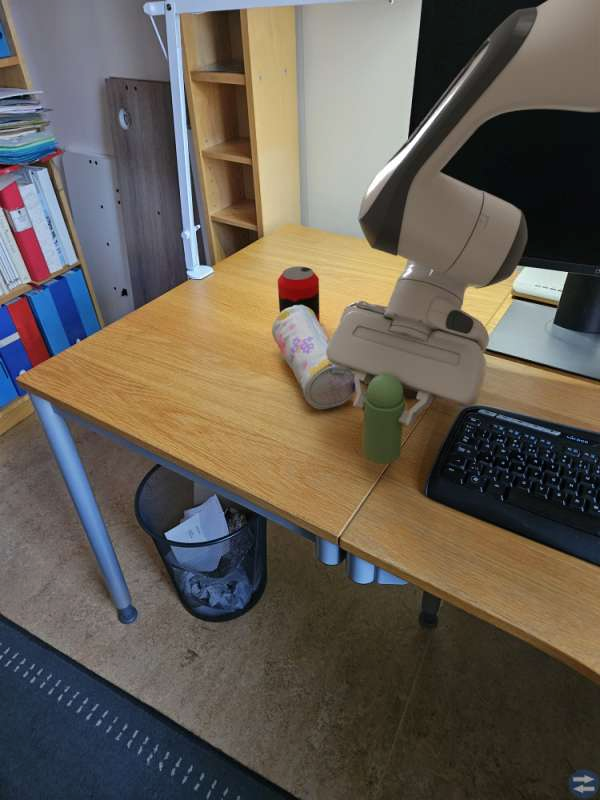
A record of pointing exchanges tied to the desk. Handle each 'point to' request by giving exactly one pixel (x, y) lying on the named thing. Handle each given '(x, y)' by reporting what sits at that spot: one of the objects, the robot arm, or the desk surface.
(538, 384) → the desk surface
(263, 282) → the desk surface
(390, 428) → the green dome-topped cylinder
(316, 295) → the soda can
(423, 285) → the robot arm
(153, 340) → the desk surface
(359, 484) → the desk surface
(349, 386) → the pencil case
